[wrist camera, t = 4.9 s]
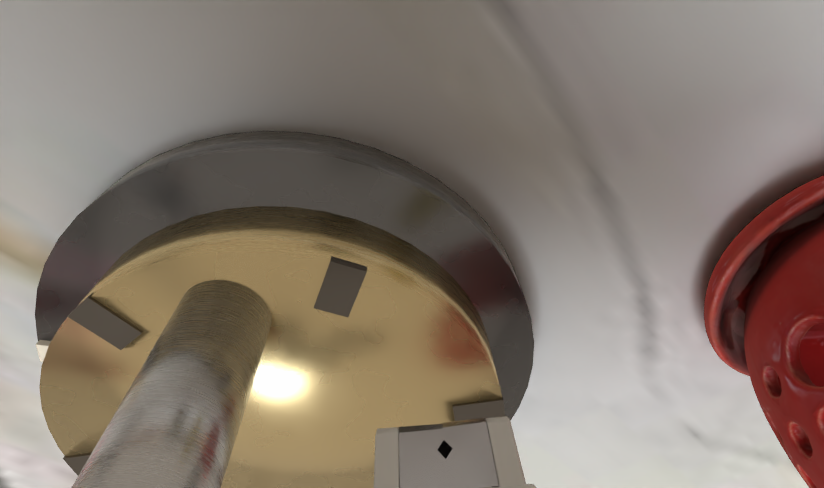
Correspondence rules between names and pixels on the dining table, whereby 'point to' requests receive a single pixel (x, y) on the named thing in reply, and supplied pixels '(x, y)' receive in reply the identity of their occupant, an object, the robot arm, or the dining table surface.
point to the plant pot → (778, 320)
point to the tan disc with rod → (261, 355)
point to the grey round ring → (302, 188)
